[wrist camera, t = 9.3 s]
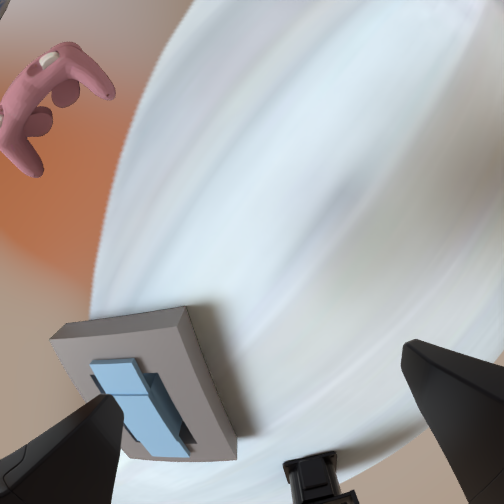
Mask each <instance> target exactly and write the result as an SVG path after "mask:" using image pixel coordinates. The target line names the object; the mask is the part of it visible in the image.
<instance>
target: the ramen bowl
mask: <svg viewBox="0 0 504 504" xmlns="http://www.w3.org/2000/svg"><path fill="white" fill-rule="evenodd" d="M9 2H10V0H0V19H1V18H2V16H3V14H4V12H5V11H6V8H7V6H8V4H9Z"/></svg>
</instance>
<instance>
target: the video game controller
mask: <svg viewBox="0 0 504 504" xmlns="http://www.w3.org/2000/svg"><path fill="white" fill-rule="evenodd" d="M79 82H81V83H82V84H84V85H85V86H86V87H87V88H88V89H89V90H91V91H92V92H93V93H94V94H95V95H97V96H98V97H100V98H102V99H105V100H113V99H114V97H115V94H116V92H115V88H114V85H113V84H112V82H111V81H110V79H109V78H108V76H107V75H106V74H105V72H104V71H103V70H102V69H101V68H100V66H99V65H98V64H97V63H96V62H95V61H94V60H93V59H92V58H91V57H89V56H88V55H87V54H86V53H84V52H83V51H82V49H81V48H80V46H79V45H77V44H76V43H73V42H63V43H60V44H57V45H56V46H54V47H52V48H51V49H50V50H49V51H47V52H46V53H44V54H42V55H41V56H39V57H38V58H36V59H35V60H34V61H32V62H31V63H30V64H29V65H28V66H27V67H25V68H24V69H23V70H22V71H21V73H20V74H19V75H18V76H17V77H16V79H15V80H14V81H13V82H12V84H11V85H10V87H9V88H8V90H7V91H6V93H5V95H4V96H3V99H2V101H1V103H0V151H1V152H3V154H4V155H5V156H6V157H7V158H8V159H9V160H10V161H12V162H13V163H14V165H16V166H17V167H18V168H19V169H20V170H21V171H22V172H23V173H25V174H26V175H28V176H30V177H34V178H38V177H41V176H42V175H43V172H44V168H43V164H42V161H41V159H40V157H39V155H38V154H37V152H36V151H35V149H34V148H33V146H32V145H31V144H30V142H29V141H28V140H27V137H32V136H33V137H39V136H43V135H45V134H46V133H48V132H49V130H50V129H51V127H52V124H53V120H52V119H53V118H52V111H51V110H50V109H49V108H47V107H41V106H40V107H37V105H38V104H39V103H40V102H41V101H42V100H43V98H45V96H46V95H47V94H48V93H49V92H50V91H51V90H52V101H53V103H54V104H55V105H56V106H58V107H61V108H65V107H68V106H70V105H72V104H73V103H74V102H76V100H77V99H78V98H79V94H80V87H79Z"/></svg>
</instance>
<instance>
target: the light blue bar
mask: <svg viewBox="0 0 504 504" xmlns="http://www.w3.org/2000/svg"><path fill="white" fill-rule="evenodd" d="M89 365H90V367H91V369H92V371H93V372H94V374H95V376H96V378H97V379H98V381H99V383H100V384H101V386H102V388H103V389H104V391H105V393H106V394H111V395H112V396H113V397H114V398H115V400H116V401H117V403H118V404H119V406H120V407H121V409H122V410H123V412H124V423H125V425H126V426H127V427H128V429H129V430H130V431H131V433H132V434H133V435H134V437H135V438H136V439H137V440H138V441H140V442H141V443H142V444H143V446H144V447H145V448H146V449H147V451H148V452H149V453H150V454H151V455H152V456H155V457H182V458H190V454H191V453H190V451H189V450H188V448H187V447H186V446H185V444H184V443H183V441H182V440H181V438H180V437H179V432H180V428H181V423H182V417H181V415H180V414H179V412H178V410H177V408H176V407H175V405H174V403H173V401H172V399H171V397H170V396H169V394H168V392H167V390H166V388H165V386H164V384H163V382H162V380H161V378H160V376H159V374H158V372H157V373H142V372H141V370H140V368H139V366H138V364H137V362H136V360H135V358H127V359H110V360H92V361H91V363H90V364H89Z"/></svg>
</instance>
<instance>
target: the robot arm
mask: <svg viewBox="0 0 504 504" xmlns="http://www.w3.org/2000/svg"><path fill="white" fill-rule="evenodd" d="M401 369H402V372H403V374H404V376H405V379H406V381H407V383H408V385H409V387H410V390H411V392H412V394H413V397H414V399H415V401H416V403H417V406H418V408H419V410H420V411H421V413H422V415H423V417H424V418H425V420H426V422H427V424H428V425H429V427H430V429H431V431H432V432H433V434H434V436H435V438H436V440H437V441H438V443H439V445H440V447H441V449H442V451H443V452H444V454H445V456H446V458H447V460H448V462H449V464H450V466H451V468H452V470H453V472H454V474H455V476H456V478H457V480H458V482H459V484H460V486H461V488H462V490H463V492H464V494H465V496H466V499H467V501H468V502H469V504H504V367H503V366H500V365H496V364H493V363H490V362H486V361H483V360H480V359H477V358H473V357H470V356H467V355H464V354H461V353H458V352H455V351H451V350H448V349H445V348H442V347H439V346H436V345H433V344H430V343H427V342H424V341H421V340H418V339H414V340H411V341H408V342H406V343H405V344H404V345H403V350H402V358H401ZM123 424H124V412H123V410H122V409H121V407H120V406H119V404H118V403H117V401H116V400H115V398H114V397H113V396H112V395H111V394H99V395H97V396H96V397H95V398H93V399H92V400H90V401H89V402H88V403H86V404H85V405H83V406H82V407H80V408H79V409H78V410H76V411H75V412H73V413H72V414H70V415H69V416H67V417H66V418H65V419H63V420H62V421H60V422H59V423H57V424H56V425H55V426H53V427H51V428H50V429H48V430H47V431H45V432H44V433H43V434H41V435H40V436H38V437H36V438H35V439H34V440H32V441H30V442H29V443H28V444H26V445H24V446H23V447H21V448H20V449H18V450H16V451H15V452H13V453H12V454H10V455H8V456H7V457H5V458H3V459H1V460H0V504H111V500H112V494H113V488H114V482H115V477H116V472H117V467H118V462H119V457H120V450H121V441H122V432H123ZM336 464H337V454H336V452H330V453H326V454H322V455H318V456H314V457H310V458H305V459H300V460H295V461H290V462H285V463H283V469H284V472H285V475H286V478H287V481H288V483H289V484H290V486H291V492H292V499H293V504H359V501H358V499H357V496H356V493H355V491H354V490H351V491H350V492H347V493H344V494H342V493H341V489H340V486H339V482H338V479H337V475H336Z"/></svg>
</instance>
